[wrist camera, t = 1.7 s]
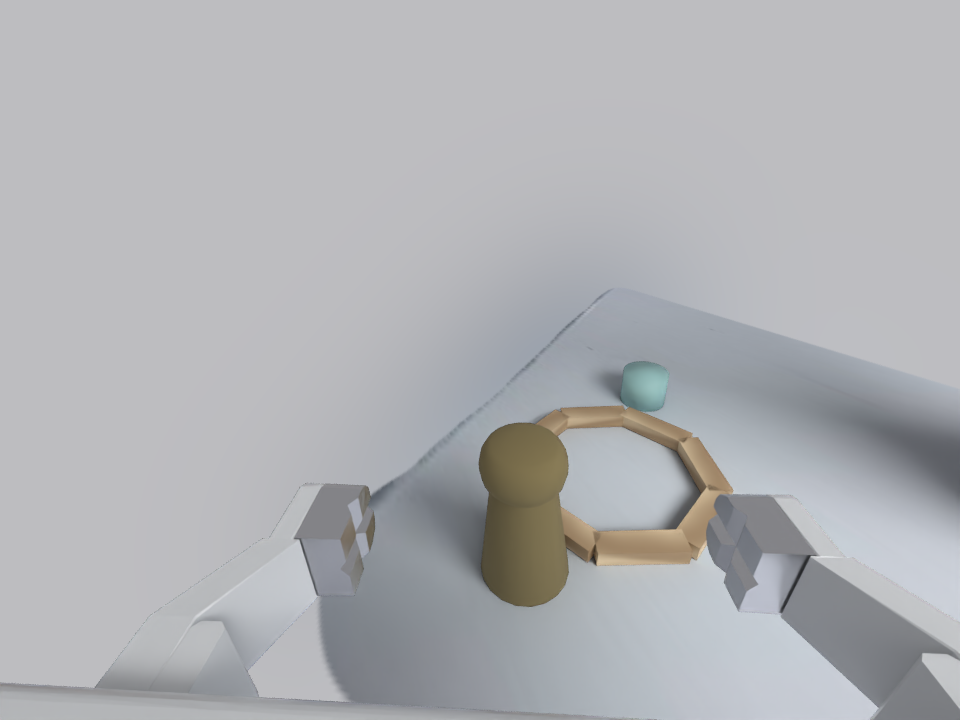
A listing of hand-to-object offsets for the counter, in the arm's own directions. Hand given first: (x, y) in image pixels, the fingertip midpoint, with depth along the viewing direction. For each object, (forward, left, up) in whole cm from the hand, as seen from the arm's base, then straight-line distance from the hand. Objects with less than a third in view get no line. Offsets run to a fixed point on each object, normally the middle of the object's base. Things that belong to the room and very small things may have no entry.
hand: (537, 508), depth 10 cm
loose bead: (-14, -31, -19) cm, 39 cm away
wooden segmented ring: (-8, -20, -19) cm, 28 cm away
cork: (0, -12, -19) cm, 22 cm away
